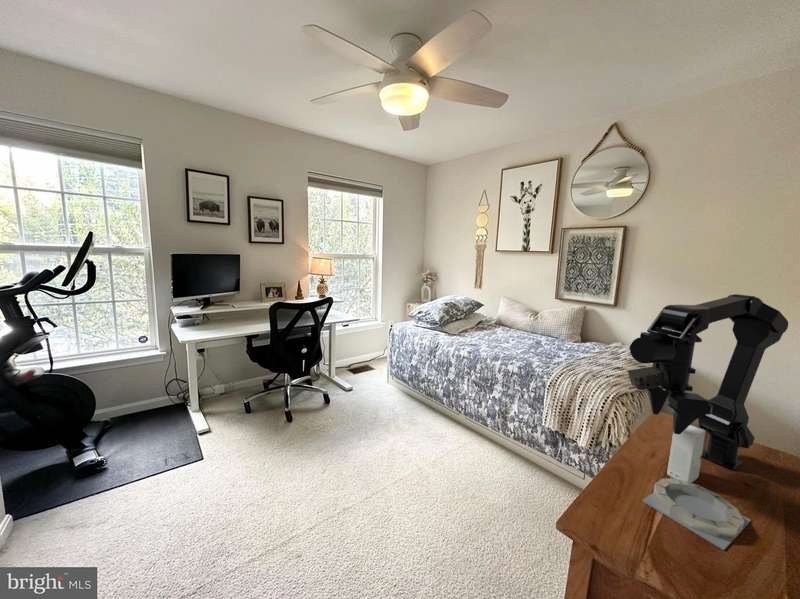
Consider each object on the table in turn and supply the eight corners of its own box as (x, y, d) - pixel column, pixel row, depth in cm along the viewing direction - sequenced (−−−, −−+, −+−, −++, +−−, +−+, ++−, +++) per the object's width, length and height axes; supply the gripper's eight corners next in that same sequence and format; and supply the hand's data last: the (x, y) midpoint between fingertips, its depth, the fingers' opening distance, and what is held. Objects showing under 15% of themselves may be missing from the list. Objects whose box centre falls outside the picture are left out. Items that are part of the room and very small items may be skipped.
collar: (671, 479, 76) (672, 472, 76) (750, 520, 65) (752, 512, 64) (642, 499, 70) (643, 490, 69) (725, 548, 58) (727, 538, 58)
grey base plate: (672, 480, 76) (672, 479, 76) (750, 521, 65) (750, 519, 65) (641, 501, 69) (642, 500, 69) (723, 550, 58) (724, 549, 58)
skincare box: (688, 486, 75) (697, 437, 73) (665, 474, 78) (672, 427, 77) (699, 477, 78) (708, 430, 76) (676, 466, 82) (684, 421, 80)
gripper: (619, 346, 86) (611, 401, 88) (656, 370, 68) (646, 439, 70) (667, 350, 83) (659, 407, 86) (719, 376, 65) (707, 448, 68)
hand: (665, 423), depth 77 cm, fingers open, 9 cm apart
